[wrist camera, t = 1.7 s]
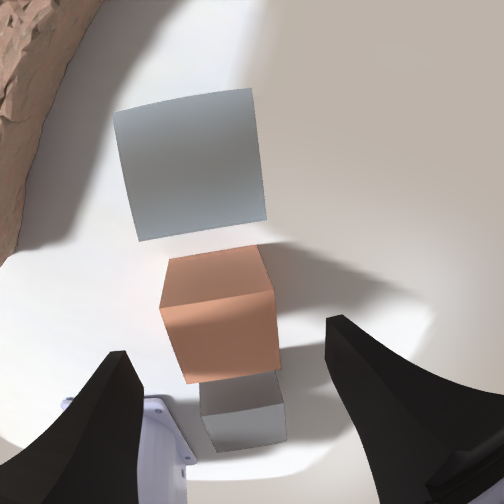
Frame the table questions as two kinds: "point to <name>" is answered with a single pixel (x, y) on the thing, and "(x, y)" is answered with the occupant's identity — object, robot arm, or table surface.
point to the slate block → (191, 163)
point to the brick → (31, 90)
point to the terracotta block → (221, 315)
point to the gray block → (243, 411)
